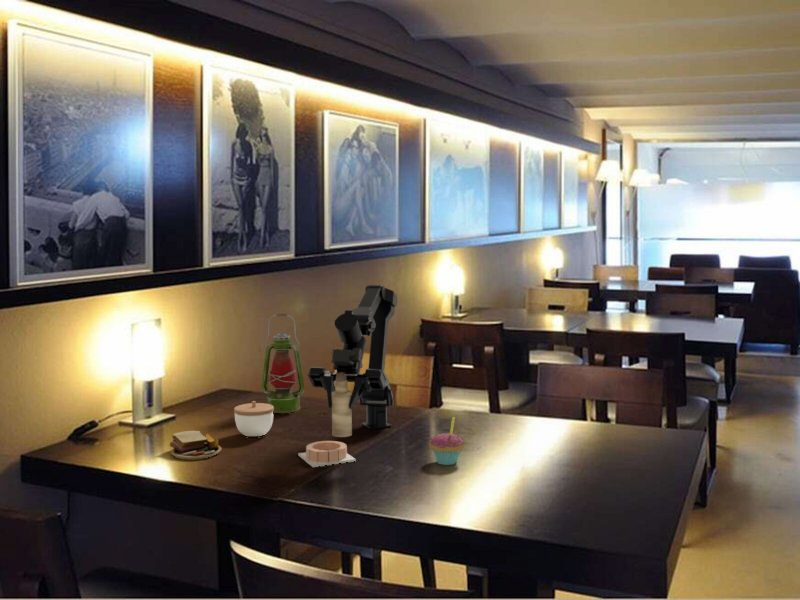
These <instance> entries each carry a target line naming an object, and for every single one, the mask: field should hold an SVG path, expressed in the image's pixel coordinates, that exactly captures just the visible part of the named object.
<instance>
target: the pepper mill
mask: <svg viewBox="0 0 800 600" xmlns="http://www.w3.org/2000/svg"><path fill="white" fill-rule="evenodd" d="M346 378H347V377H346V374H345V373H343V372H340V373H338V374H337V375H336V380H335V382H334V386H335V391H333V392H332V407H331V422H332V423H331V429H332V430H331V433H332V436H333V437H336V438H347V437H351V436H352V435H353V424H352V423H353V422H352V421H353V419H352V417H353V416H352V415H353V412H352V409H353V408H352V409H350V408H349V403H350V399H351V395H352V391H350V390H348V382H347V380H346Z"/></svg>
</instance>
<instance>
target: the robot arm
mask: <svg viewBox="0 0 800 600" xmlns="http://www.w3.org/2000/svg"><path fill="white" fill-rule="evenodd" d="M365 286H366V287H365V289H364V290H365V292H364V294H363V296H362V298H361V299H360V302H359V303H358V305H357V308H354V309H351V310H350V309H347V310H344V313H341V314H340V315H338V316H337V317H336V319H335V320H334V327H335V329H336V332H337V335H338V338H339V341H340V342H341V343H342V348H341V349H336V348H335V349H332V352H331V353H332V354H331V355H332V356H331V363H332V364H334V365H333V369H334V371H336V372H332V371H330V370H327V368H326V367H325V366H311V367H309V369H308V372H307V376H308V379H309V382H310V384H311V386H312V387H314V388H319V389H320V388H322V389H324V390H325V391H326V394H327V395H326V396H327V403H328V408H331V409H332V392H333V391H335V380H336V375H337V374H338V373H340V372H343V373H345V374H346V377H347V378H346V380H347V383H354V384H353V386H354V387H353V389H352V391H351V399H350V403H349V408H350V409H353V408H354V406H355V405H356V404H358V401H359V404H360V406H366V421H364V422H362V423H361V424H362V425H363V426H364V427H366V428H368V429H371V430H373V429H375V430H376V429H383V428H391V427H392V424H391V423H388V422H387V421H388V417H387V415H388V414H387V411H388V409H387V408H389V407H390V406H391V407H392V406H394V395H393V391H392V389H391V386H390V381H389V378H388V376H387V374H386V372H385V366H386V365H385V364H386V353H387V342H388V341H387V340H388V330H389V322H390V321H391V319H392V318H393V317H394V315H395V313H396V312H395V311H396V308H397V306H398V296H397V293H396V292H395V291H394V290H391V289H389V288H387V287H385V285H382V284H368V285H365ZM364 336H365V337H368V336H369V337H371V338H370V344H369V345H370V347H369V356H368V357H369V359H368V368H367V369H365V372H363V373H361V369H362V368H363V366H364V365H363V359H364V354H365V351H366V349H367V348H366V347H367V346H366V345H367V340H366V338H365V337H364Z"/></svg>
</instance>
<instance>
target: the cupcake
mask: <svg viewBox="0 0 800 600" xmlns="http://www.w3.org/2000/svg"><path fill="white" fill-rule="evenodd" d="M455 416H456V414H454V415H453V417H451V421H450V422H451V423H450V430H449V432H447V433H446V432H444V433H443V432H442V433H438V434H435V435H434V436H432V437H431V438H430V439H429V442H428V447H429V450H431V451H432V452H433V455H434V457H435V460H436V462H437V464H439V465H443V466H449V465H450V466H451V465H455V464H457V462H458V458H459V455H460V453H461V451H463V449H464V448H465V447H464V446H465V444H466V443H465V441H464V440H463V439H462V437H460V436H459V435H457V434H454V433H453V432H454V426H455V420H456V417H455Z"/></svg>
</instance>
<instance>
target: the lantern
mask: <svg viewBox="0 0 800 600" xmlns="http://www.w3.org/2000/svg"><path fill="white" fill-rule="evenodd" d="M274 317H289V318H291V319H292V321H293V327H294V328H293V329H294V339H295V340H296V342H297V344H298V345H296V344H294V343H291V335H289V334H287V333H285V332H286V328H285V326H279V327H278V329H281V328H283V331H280V330H278V332H279V333H277V334H275V335H273V338H274V339H273V342H272V343H269V344H268V345H267V342H268V340H269V339H270V327H271V326H270V323H271V320H272V319H273V318H274ZM267 325H268V326H267V330H268V331H267V338H266V340H265V341H264V345H265V347H266V348H265V354H264V363H263V371H262V380H261V389H262V391H263V393H264V394H267V397H266V404H270V405H272V406H273V407H274V411H276V412H293V411H297V410H299V409H300V408H301V406H300V396H301V395H303V394H304V392H305V381H304V375H303V367H302V363H301V361H302V360H301V356H300V350H299V346H300V341H299V340H298V337H297V333H296V332H297V331H296V330H297V329H296V321H295V318H293V316H292V315H289V314H288V313H276V314H273V315H271V316H270V318H269V320H268V323H267ZM272 350H275V354H274V355H273V356H274V357H273V359H272V360H273V361H272V364H271V370H269V369H270V368H269V367H270V360H271V359H270V358H271V351H272ZM290 350H292V351H293V354H294V361H295V366H294V362H293V359H292V356H291V353H290ZM295 368H296V370H295ZM296 372H297V373H296ZM296 374H297V377H296ZM297 378H298V381H297ZM269 383H270V385H272V386H273V387H274V389H275V390H274V391H273V390H270V389H268V388H269ZM295 384H298V387H299V389H298V390H297V391H293V390H291V388H292V387H293V386H294V385H295Z"/></svg>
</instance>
